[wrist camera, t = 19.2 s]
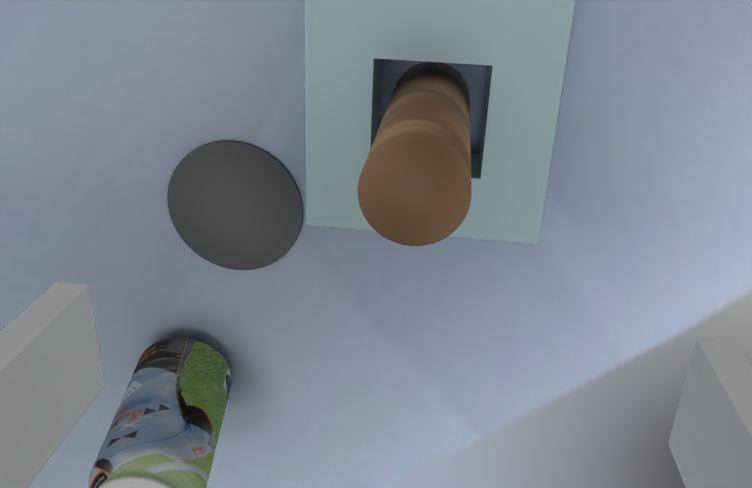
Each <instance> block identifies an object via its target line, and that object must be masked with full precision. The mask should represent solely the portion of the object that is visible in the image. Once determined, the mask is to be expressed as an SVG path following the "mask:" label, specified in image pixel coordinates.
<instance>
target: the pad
mask: <svg viewBox="0 0 752 488" xmlns="http://www.w3.org/2000/svg"><path fill="white" fill-rule="evenodd" d="M168 208H169V213H170V216H171V220H172V222H173V224H174V226H175V228H176V230H177V232H178V234H179V235H180V237H181V238H182V239H183V241H184V242H185V243H186V244H187V245H188V246H189V247H190V248H191V249H192V250H193V251H194V252H196V253H197V254H198V255H200V256H201V257H202V258H204V259H206V260H208V261H209V262H211V263H214V264H216V265H219V266H221V267H225V268H229V269H236V270H251V269H257V268H262V267H265V266H267V265H270V264H272V263H274V262H275V261H277V260H279V259H280V258H281V257H283V256H284V255H285V254H286V253H287V252H288V251H289V249H290V248H291V247H292V246H293V244H294V242H295V240H296V239H297V237H298V234H299V232H300V229H301V225H302V219H303V207H302V200H301V195H300V193H299V190H298V187H297V185H296V183H295V181H294V179H293V178H292V176H291V175H290V173H289V172H288V170H287V169H286V168H285V167H284V166H283V165H282V164H281V163H280V162H279V161H278V160H277V159H276V158H275V157H273V156H272V155H270V154H269V153H268V152H266V151H264V150H262V149H260V148H258V147H256V146H253V145H251V144H247V143H243V142H238V141H217V142H212V143H208V144H205V145H203V146H201V147H198V148H197V149H195V150H193V151H192V152H191V153H189V154H188V155H187V156H186V157H185V158H184V159H183V160H182V161H181V162H180V163H179V164H178V166H177V167H176V169H175V170H174V172H173V174H172V177H171V179H170V183H169V187H168Z"/></svg>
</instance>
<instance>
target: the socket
mask: <svg viewBox="0 0 752 488" xmlns="http://www.w3.org/2000/svg"><path fill="white" fill-rule="evenodd" d="M574 6H575V0H305V188H306V225H311V226H323V227H336V228H348V229H360V230H372V231H375V230H374V229H373V228H372V227H371V225H370V224H369V223H368V222H367V220H366V219H365V217H364V215H363V213H362V211H361V208H360V205H359V201H358V192H357V189H358V181H359V177H360V174H361V172H362V169H363V167H364V164H365V162H366V159H367V157H368V154H369V152H370V149H371V147H372V144H373V142H374V139H375V137H376V134H377V132H378V129H379V122H380V98H381V74H382V59H391V60H408V61H425V62H441V63H458V64H474V65H488V74H487V84H486V93H485V103H484V112H483V122H482V132H481V141H480V151H479V154H471V188H472V194H471V203H470V207H469V211H468V213H467V215H466V217H465V219H464V221H463V222H462V224H461V225H460V226H459V227H458V228H457V229H456V230H455V231H454V232H453V233H452V234H451V235H449V236H448V237H458V238H470V239H482V240H494V241H506V242H519V243H531V244H539V238H540V231H541V224H542V218H543V211H544V205H545V198H546V191H547V185H548V178H549V172H550V165H551V158H552V152H553V145H554V138H555V132H556V125H557V119H558V112H559V105H560V99H561V92H562V86H563V79H564V72H565V66H566V59H567V52H568V46H569V39H570V33H571V26H572V19H573V13H574Z"/></svg>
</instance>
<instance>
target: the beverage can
mask: <svg viewBox="0 0 752 488" xmlns="http://www.w3.org/2000/svg"><path fill="white" fill-rule="evenodd" d="M231 383H232V375H231V370H230V367H229V365H228V363H227V362H226V360H225V359H224V357H223V356H222V355H221V354H220V353H219V352H218V351H217V350H215V349H214V348H213V347H211V346H209V345H207V344H205V343H203V342H200V341H198V340H193V339H189V338H170V339H165V340H162V341H159V342H157V343H155V344H153V345H152V346H150V347H149V348H148V349H147V350H145V352H144V353H143V354H142V356H141V357H140V360H139V362H138V364H137V367H136V369H135V371H134V373H133V376H132V378H131V380H130V383H129V385H128V387H127V390H126V392H125V394H124V397H123V399H122V401H121V404H120V406H119V408H118V411H117V413H116V415H115V418H114V420H113V422H112V425H111V427H110V429H109V431H108V434H107V436H106V438H105V441H104V443H103V445H102V448H101V450H100V452H99V455H98V457H97V459H96V462H95V464H94V466H93V469H92V471H91V473H90V478H89V488H206V486H207V481H208V477H209V473H210V469H211V465H212V461H213V457H214V453H215V449H216V444H217V440H218V436H219V432H220V428H221V424H222V420H223V416H224V412H225V407H226V403H227V399H228V395H229V391H230V387H231Z"/></svg>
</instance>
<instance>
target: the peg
mask: <svg viewBox="0 0 752 488" xmlns="http://www.w3.org/2000/svg"><path fill="white" fill-rule="evenodd" d="M357 192H358V201H359V205H360V208H361V211H362V213H363V215H364V217H365V219H366V220H367V222H368V223H369V224H370V225H371V227H372V228H373V229H374V230H375V231H377V232H378V233H379V234H380V235H382V236H383V237H385V238H387V239H389V240H391V241H393V242H396V243H399V244H403V245H409V246H422V245H428V244H432V243H435V242H438V241H440V240H442V239H444V238H446V237H448V236H449V235H451V234H452V233H453V232H454V231H455V230H456V229H457V228H458V227H459V226H460V225H461V224H462V222H463V221H464V219H465V217H466V215H467V213H468V211H469V207H470V203H471V194H472V188H471V148H470V108H469V92H468V88H467V85H466V83H465V81H464V79H463V78H462V76H461V75H460V74H459V73H458V72H457V71H456V70H455V69H453V68H452V67H450V66H448V65H446V64H443V63H440V62H424V63H420V64H417V65H415V66H413V67H411V68H410V69H409V70H407V71H406V72H405V73H404V74H403V75H402V76H401V78H400V79H399V81H398V83H397V85H396V87H395V90H394V92H393V95H392V97H391V100H390V102H389V105H388V107H387V110H386V112H385V115H384V117H383V120H382V122H381V125H380V127H379V129H378V132H377V134H376V137H375V139H374V142H373V144H372V147H371V149H370V152H369V154H368V157H367V159H366V162H365V164H364V167H363V169H362V172H361V174H360V177H359V181H358V189H357Z"/></svg>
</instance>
